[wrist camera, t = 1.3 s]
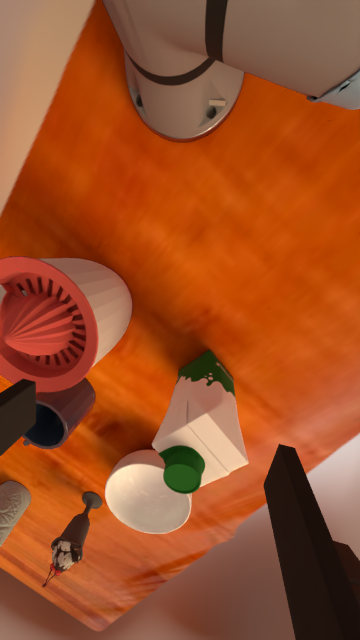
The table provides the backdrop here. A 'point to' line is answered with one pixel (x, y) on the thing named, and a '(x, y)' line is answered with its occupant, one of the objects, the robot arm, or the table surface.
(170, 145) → the table surface
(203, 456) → the milk carton
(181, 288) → the table surface
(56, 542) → the sundae
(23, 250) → the table surface
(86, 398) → the mug
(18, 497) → the grey embossed cup
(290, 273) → the table surface
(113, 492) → the cereal bowl
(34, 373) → the citrus juicer
